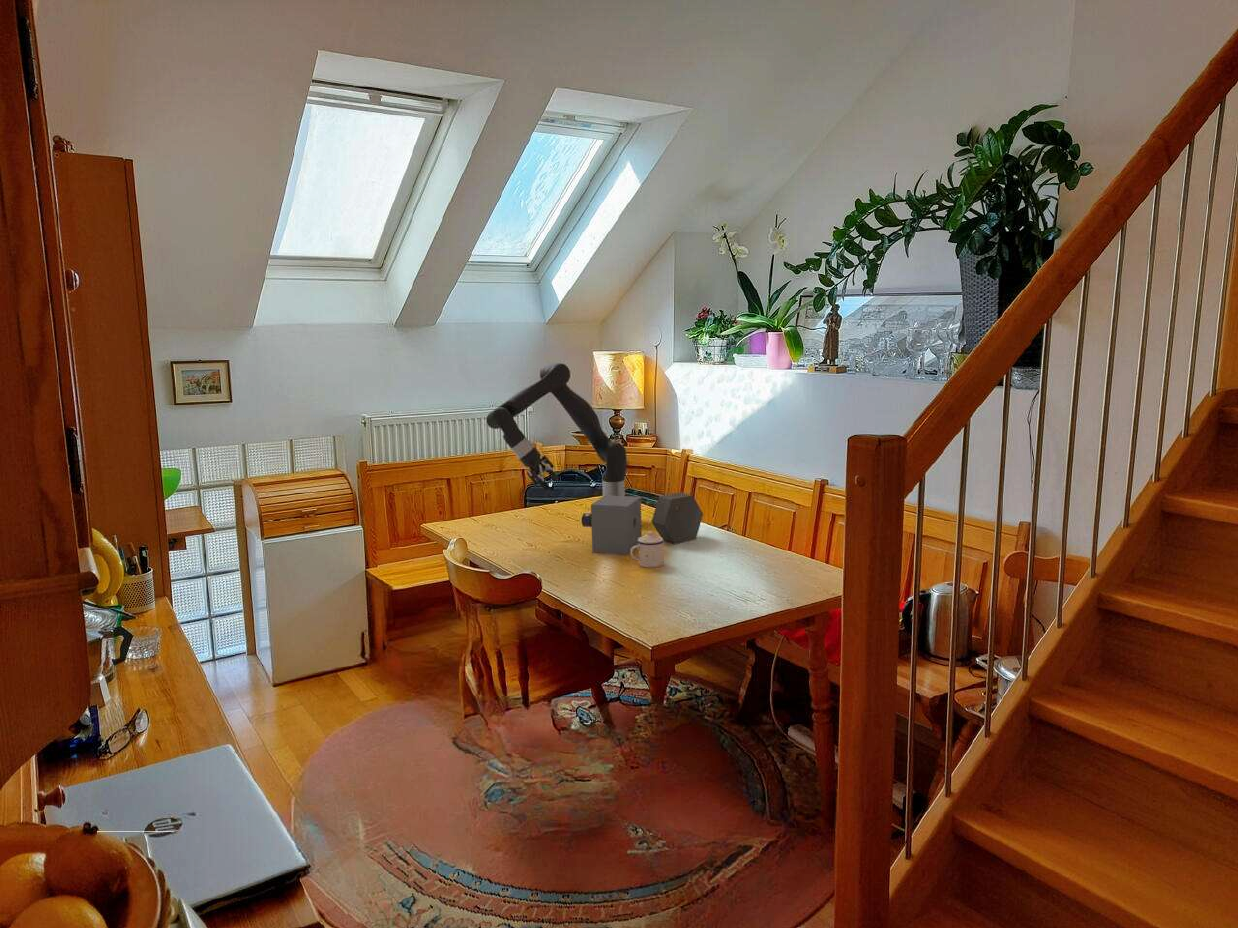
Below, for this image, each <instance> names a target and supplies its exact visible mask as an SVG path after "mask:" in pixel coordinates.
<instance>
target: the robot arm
mask: <svg viewBox="0 0 1238 928" xmlns="http://www.w3.org/2000/svg"><path fill="white" fill-rule="evenodd" d="M539 378H540V379H539V380H537V381H536V382H534V383H532V384H530V385H528V386H526V387H524V388H522V389H521V390H519V391H518V392H515V394H513V395H512V396H510V397H509V398H508V399H507V400H506V401H505V402H503V403H502V404H500V405H499V406H497V407H496V408H494V409H493V410H491V411H490V412H489V413H488V414H487V416H486V424H487V426H488V427H489V428H491V429H494V430H497V429H500V430H501V431H502V433H503V436H502V438H503V440H504V442H505V443H506V444H507V445H508V447H509V448H510V449H511V450H512V452H513V454H514V455H515V456H516V457H517V459H518V460H519V462H521V463H522V465H523V466H524V467H525V468H529V470H528V471H527V472H526V475H527V476H528V477H529V478H530V480H531V482H533V484H534V485H535V486H538V485H540V487H542V489H543V490H544V491H545V492H548V491H550V490H551V486H550V485H549V484H548V482H546V480H545V479H544V473H546V474H548V476H549V477H550V478H551V479H552V481H554V482H556V481H557V480H559V476H558V475H557V473H556V472H555V471H554V467H555V466H554V464H553V463H552V462H551V461H550V459H549V458H548V457H547V455H542V454H541V453H540V451H538V449H537V448H536V446H534V444H533V443H532V442H531V440H530V439H528V437H526V435H525V434H524V432H522V430H520V428H519V426H518V424H517V422H516V421H515V419H514V418H515V417H516V416H518V415H520V414H521V413H523V412H524V411H525V410H527V409H528V408H529V407H531V406H532V405H533V404H535V403H536V402H538V401H539V400H540V399H541V398H543V397H544V396H546V395H548V394H549V393H551V394H552V395H553V396H554V397H555V398H556V400H557V401H558V402H559V403H560V404H561V406H562V408H563V409H564V410H565V411H566V413H567V415H569V417H570V419H571V420H572V421H573V423H574V424H575V425H576V427H577V428H579V430H580V431H581V433H582V434H583V435H584V436H585V437H586V439H587V440H588V441H589V443H590V444H591V446H592V447H593V450H594V451H595V453H596V454H597V456H598V457H599V459H600V460H601V461H602V462H603V463H606V470H605V472H603V473H602V474H601V475H602V476H601V479H602V480H601V481H602V497H604V496H605V495H610V496H625V475H626V472H627V451H626V448H625V446H624V445H623V444H621V443H618V442H616V441H613V440H611V439H610V438H609V437H608V436H607V435H606V433H605V432H604V431H603V429H602V426H601V424H600V419H599V417H598V415H597V413H596V412H595V410H594V409H593V407H592V406H591V405H590V403H589V402H588V401H587V400H585V399H584V398H583V396H581V395H579V394H578V393H576V392H575V391H573V390H572V389H571V388H570V387H569V386H568V385H567V383H569V381H570V378H571V371H570V368H569V367H568V366H567V365H566V364H564V363H561V362H559V363H558V362H557V363H548V364H546V365H544V366H542V367H541V368H540V371H539ZM541 455H542V456H541Z"/></svg>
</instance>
